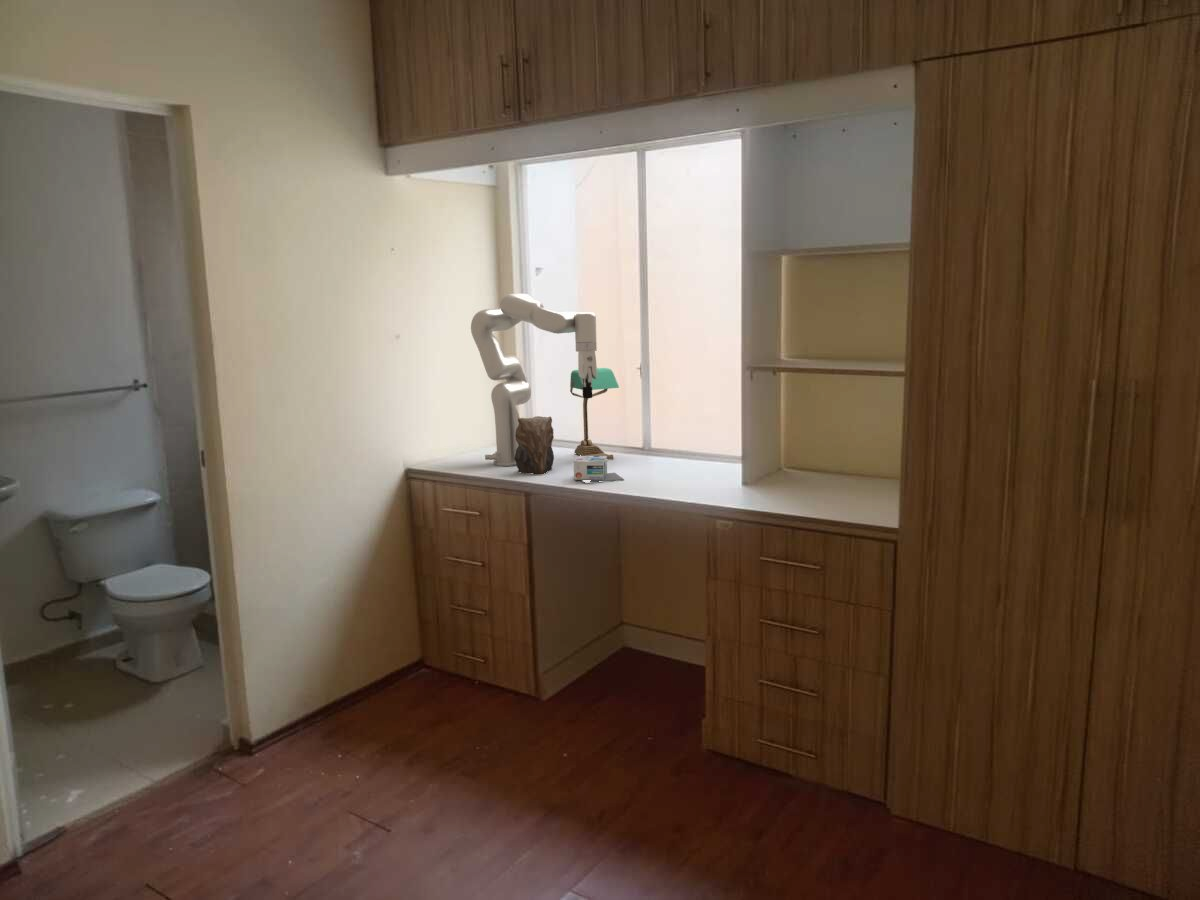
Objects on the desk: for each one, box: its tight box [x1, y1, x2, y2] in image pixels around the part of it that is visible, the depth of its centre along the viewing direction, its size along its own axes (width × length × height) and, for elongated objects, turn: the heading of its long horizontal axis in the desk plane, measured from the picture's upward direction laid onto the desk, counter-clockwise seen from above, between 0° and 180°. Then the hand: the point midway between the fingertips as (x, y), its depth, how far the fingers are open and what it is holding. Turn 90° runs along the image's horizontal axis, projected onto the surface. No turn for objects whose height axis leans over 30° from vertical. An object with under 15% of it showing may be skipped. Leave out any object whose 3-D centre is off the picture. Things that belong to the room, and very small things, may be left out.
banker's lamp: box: [569, 367, 620, 460], centre depth 343 cm, size 16×21×35 cm
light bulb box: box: [573, 455, 608, 481], centre depth 306 cm, size 11×7×11 cm
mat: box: [590, 472, 625, 483], centre depth 305 cm, size 14×12×1 cm
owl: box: [514, 415, 555, 475], centre depth 321 cm, size 13×13×20 cm
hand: (587, 397), depth 314 cm, fingers closed
